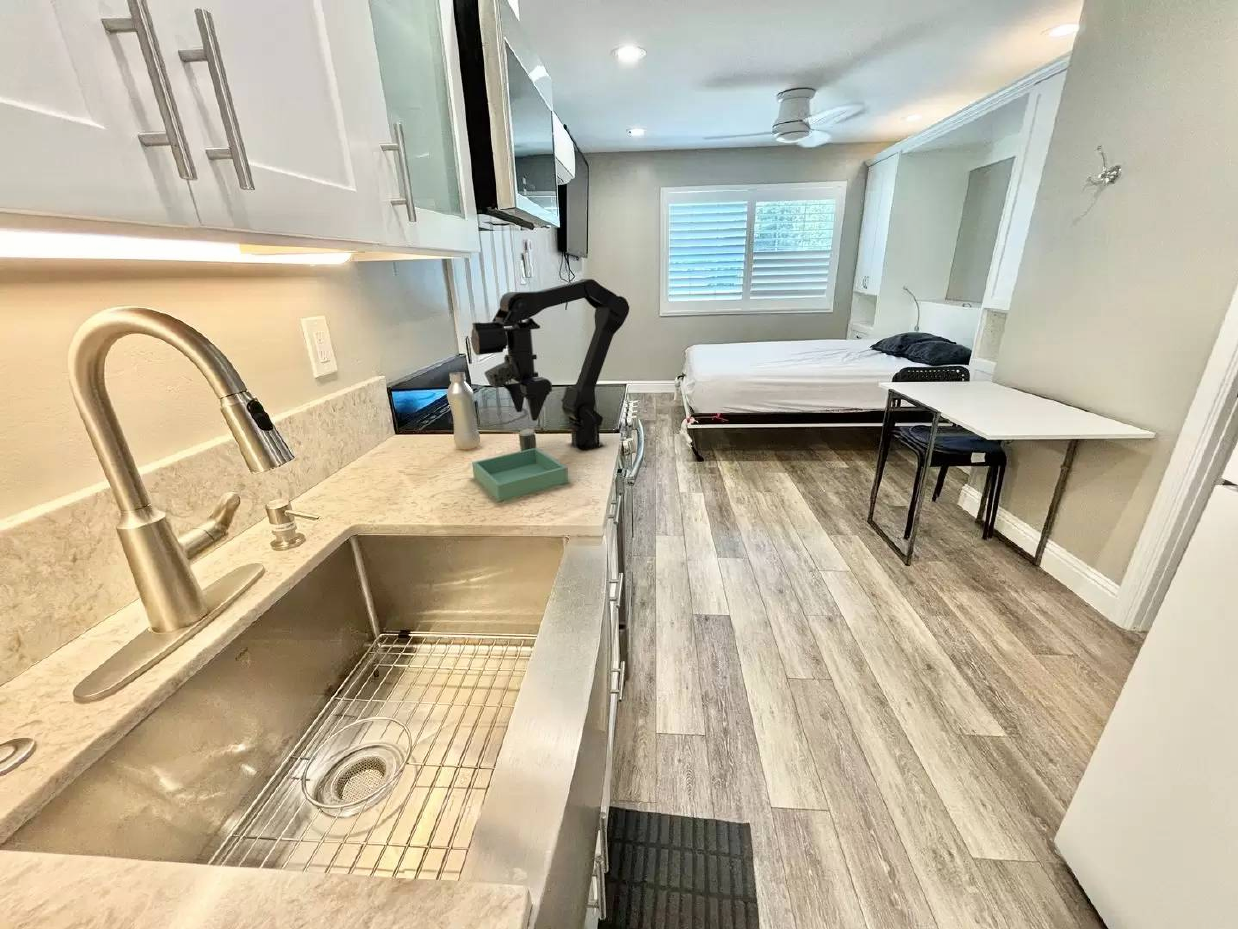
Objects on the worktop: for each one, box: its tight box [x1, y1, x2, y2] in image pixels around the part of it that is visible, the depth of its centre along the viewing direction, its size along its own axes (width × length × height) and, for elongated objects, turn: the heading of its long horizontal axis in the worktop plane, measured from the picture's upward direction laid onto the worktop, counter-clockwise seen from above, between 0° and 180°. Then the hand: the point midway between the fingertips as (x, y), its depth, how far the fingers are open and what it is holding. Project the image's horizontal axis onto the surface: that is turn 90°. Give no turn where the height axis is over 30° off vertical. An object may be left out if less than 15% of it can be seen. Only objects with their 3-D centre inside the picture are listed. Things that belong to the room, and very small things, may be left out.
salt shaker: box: [518, 428, 538, 451], centre depth 121 cm, size 4×4×7 cm
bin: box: [471, 447, 569, 502], centre depth 107 cm, size 16×16×4 cm
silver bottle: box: [446, 371, 481, 450], centre depth 127 cm, size 6×7×20 cm
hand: (526, 416), depth 118 cm, fingers open, 9 cm apart
